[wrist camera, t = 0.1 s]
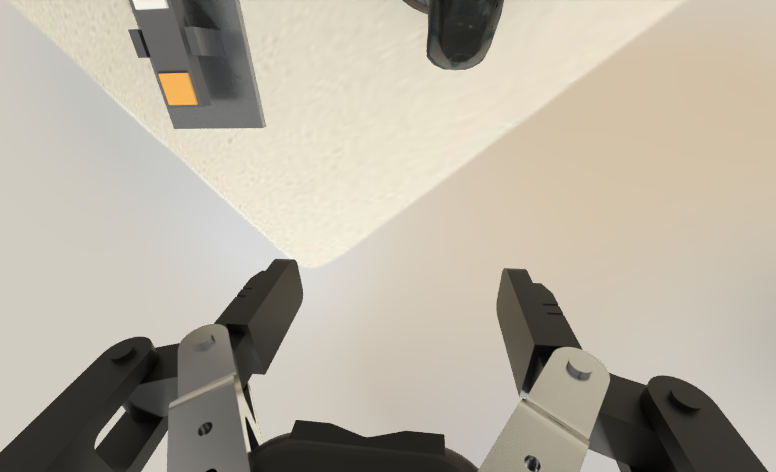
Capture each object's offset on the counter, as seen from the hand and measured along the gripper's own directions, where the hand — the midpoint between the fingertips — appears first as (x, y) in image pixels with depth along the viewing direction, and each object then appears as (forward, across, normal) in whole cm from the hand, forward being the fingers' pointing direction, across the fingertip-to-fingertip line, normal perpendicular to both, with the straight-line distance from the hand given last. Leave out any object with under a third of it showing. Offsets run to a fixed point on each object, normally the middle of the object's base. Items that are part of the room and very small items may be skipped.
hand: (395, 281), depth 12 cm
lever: (+25, +25, -10) cm, 36 cm away
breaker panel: (+29, +25, -10) cm, 40 cm away
